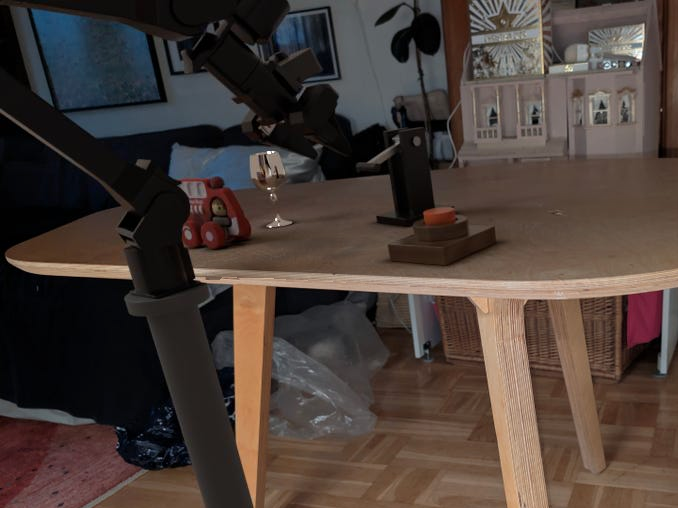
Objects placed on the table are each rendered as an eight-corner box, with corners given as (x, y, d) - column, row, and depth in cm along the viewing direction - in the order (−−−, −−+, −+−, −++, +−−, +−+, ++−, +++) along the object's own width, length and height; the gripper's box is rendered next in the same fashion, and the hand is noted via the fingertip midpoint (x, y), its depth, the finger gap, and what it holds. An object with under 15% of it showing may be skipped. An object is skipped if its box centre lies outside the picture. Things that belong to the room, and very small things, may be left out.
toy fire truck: (229, 250, 106) (211, 180, 102) (176, 247, 112) (158, 181, 108) (263, 239, 111) (248, 172, 107) (211, 237, 117) (195, 173, 113)
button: (443, 228, 87) (441, 214, 86) (418, 227, 89) (416, 213, 88) (462, 221, 90) (460, 207, 89) (438, 220, 92) (436, 206, 91)
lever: (378, 176, 104) (371, 161, 103) (359, 175, 108) (352, 161, 106) (424, 144, 109) (418, 129, 107) (405, 144, 112) (398, 130, 111)
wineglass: (255, 228, 120) (238, 156, 116) (276, 220, 125) (261, 151, 121) (282, 228, 118) (266, 154, 114) (302, 220, 123) (288, 149, 118)
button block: (445, 265, 84) (441, 232, 83) (390, 260, 89) (385, 229, 88) (496, 242, 92) (493, 212, 91) (442, 239, 97) (439, 210, 96)
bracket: (406, 226, 108) (392, 133, 103) (376, 222, 114) (362, 134, 108) (455, 213, 114) (444, 124, 109) (424, 210, 120) (413, 125, 114)
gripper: (312, 11, 84) (398, 104, 95) (245, 38, 98) (327, 116, 108) (264, 83, 82) (358, 170, 92) (202, 100, 95) (290, 174, 106)
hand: (332, 155), depth 99 cm, fingers open, 9 cm apart
